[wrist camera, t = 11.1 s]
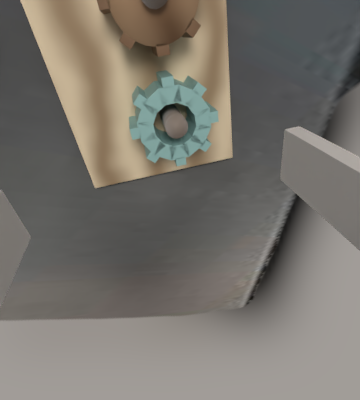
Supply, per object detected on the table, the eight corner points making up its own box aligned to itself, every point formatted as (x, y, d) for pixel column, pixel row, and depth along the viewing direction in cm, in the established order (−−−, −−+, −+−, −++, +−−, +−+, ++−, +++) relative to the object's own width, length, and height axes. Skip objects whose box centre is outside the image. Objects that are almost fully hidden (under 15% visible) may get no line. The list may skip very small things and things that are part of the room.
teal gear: (119, 79, 29) (118, 86, 25) (202, 62, 30) (214, 67, 26) (139, 157, 35) (141, 174, 31) (209, 142, 35) (220, 156, 31)
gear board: (96, 183, 37) (90, 212, 31) (10, -38, 24) (-31, -64, 18) (229, 153, 39) (249, 176, 32) (217, -72, 25) (248, -107, 19)
